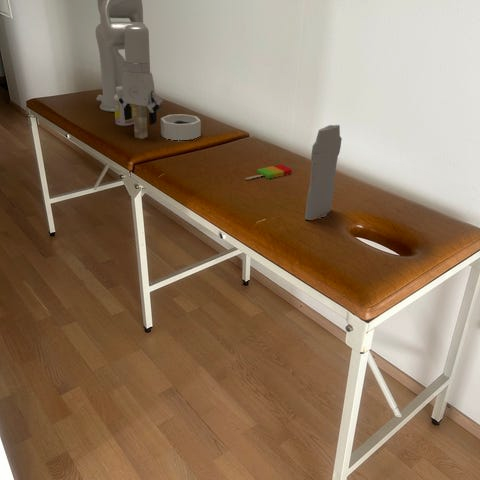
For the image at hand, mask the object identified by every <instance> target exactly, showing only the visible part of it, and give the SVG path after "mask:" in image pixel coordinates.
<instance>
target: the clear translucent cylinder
mask: <svg viewBox="0 0 480 480" xmlns="http://www.w3.org/2000/svg"><path fill="white" fill-rule="evenodd" d="M133 112H134V124H133V125H134V126H133V129H134V130H133V131H134V139H135V138H136V139H141V140H144V139H146V138H148V137H149V136H148V118H147V117H148V114H147V106H138V105H133Z"/></svg>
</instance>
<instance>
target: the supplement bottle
mask: <svg viewBox="0 0 480 480" xmlns="http://www.w3.org/2000/svg"><path fill="white" fill-rule="evenodd" d="M121 90H122V86H119V87H116V92H119V91H121ZM130 106H131V109H132V118H131V119H128V120H125V116H124V108H123V107H122V104H121V103H120V102H119V99H118V96H117V94H116V95H115V96H114V108H115V112H114V118H115V119H114V120H115V124H116V125H118V126H122V127H129V126H132V125H134V112H133V105H132V104H130Z"/></svg>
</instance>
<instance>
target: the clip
mask: <svg viewBox="0 0 480 480" xmlns="http://www.w3.org/2000/svg"><path fill="white" fill-rule="evenodd" d="M174 123H175V124H190V122H184V121H179V120H178V121H176V122H174Z"/></svg>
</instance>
